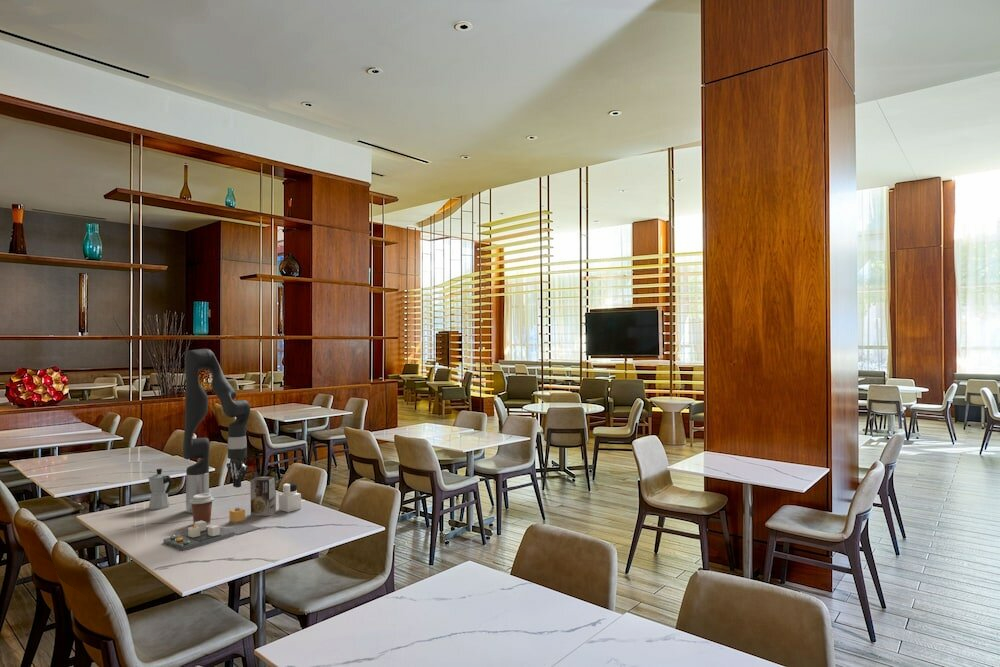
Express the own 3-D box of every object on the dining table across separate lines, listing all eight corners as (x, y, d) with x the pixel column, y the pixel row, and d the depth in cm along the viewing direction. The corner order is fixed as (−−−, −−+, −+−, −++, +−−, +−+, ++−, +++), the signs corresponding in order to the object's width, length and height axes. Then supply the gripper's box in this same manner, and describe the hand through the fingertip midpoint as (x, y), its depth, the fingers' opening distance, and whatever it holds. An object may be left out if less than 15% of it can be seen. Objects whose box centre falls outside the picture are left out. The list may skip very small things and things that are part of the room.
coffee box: (276, 512, 263) (276, 476, 263) (269, 516, 256) (269, 479, 257) (257, 511, 264) (257, 476, 264) (249, 515, 257) (249, 479, 258)
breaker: (207, 534, 226) (207, 526, 226) (214, 532, 228) (214, 524, 228) (212, 536, 224) (212, 528, 224) (219, 534, 226) (219, 526, 226)
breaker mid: (188, 535, 225) (188, 527, 225) (195, 533, 227) (195, 525, 227) (192, 537, 223) (192, 528, 223) (200, 535, 225) (200, 526, 225)
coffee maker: (140, 508, 270) (141, 469, 271) (158, 503, 278) (158, 465, 279) (163, 511, 264) (163, 472, 265) (180, 506, 273) (180, 468, 273)
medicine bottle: (292, 506, 272) (292, 480, 272) (301, 508, 268) (301, 482, 268) (278, 510, 266) (278, 483, 266) (287, 512, 262) (287, 486, 262)
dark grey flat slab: (163, 542, 223) (163, 536, 223) (214, 529, 239) (214, 522, 239) (183, 550, 214) (183, 543, 214) (234, 535, 230) (234, 529, 230)
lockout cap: (229, 522, 248) (229, 508, 248) (239, 519, 252) (239, 506, 252) (235, 524, 246) (235, 510, 246) (245, 521, 249) (245, 507, 249)
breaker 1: (194, 530, 232) (194, 522, 232) (201, 528, 234) (201, 520, 234) (199, 531, 230) (199, 523, 230) (206, 529, 232) (206, 521, 232)
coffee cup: (185, 527, 242) (185, 498, 242) (196, 520, 251) (196, 492, 251) (207, 526, 242) (207, 498, 242) (217, 520, 251) (217, 492, 251)
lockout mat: (223, 530, 237) (223, 529, 237) (246, 524, 245) (246, 523, 245) (237, 535, 231) (237, 534, 231) (260, 528, 239) (260, 527, 239)
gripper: (220, 446, 250) (220, 486, 250) (237, 449, 242) (237, 491, 242) (236, 443, 256) (236, 483, 256) (254, 446, 248) (254, 487, 248)
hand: (237, 486), depth 249 cm, fingers closed
